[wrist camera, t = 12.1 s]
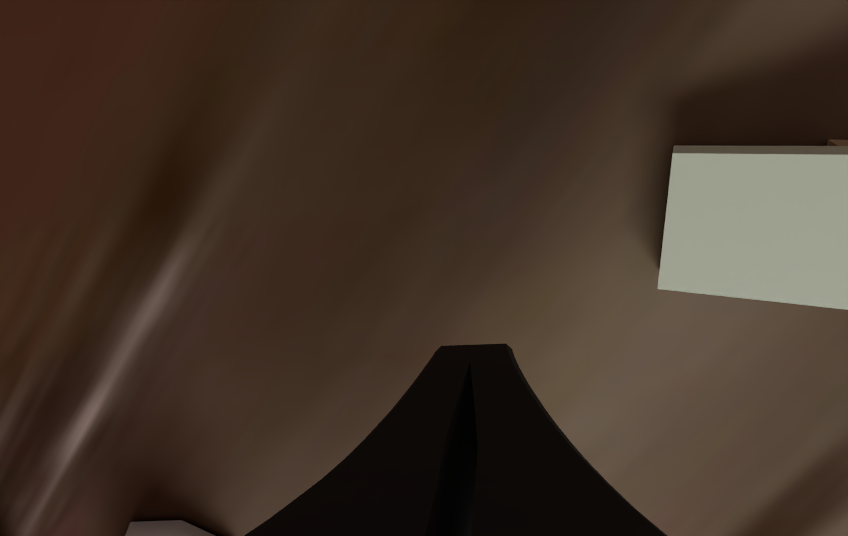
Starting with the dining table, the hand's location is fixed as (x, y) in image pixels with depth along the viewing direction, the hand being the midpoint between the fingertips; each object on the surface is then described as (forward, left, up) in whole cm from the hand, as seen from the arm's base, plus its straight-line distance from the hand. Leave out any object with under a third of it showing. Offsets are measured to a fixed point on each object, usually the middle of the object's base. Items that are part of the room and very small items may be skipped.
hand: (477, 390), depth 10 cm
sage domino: (-3, -5, -9) cm, 11 cm away
